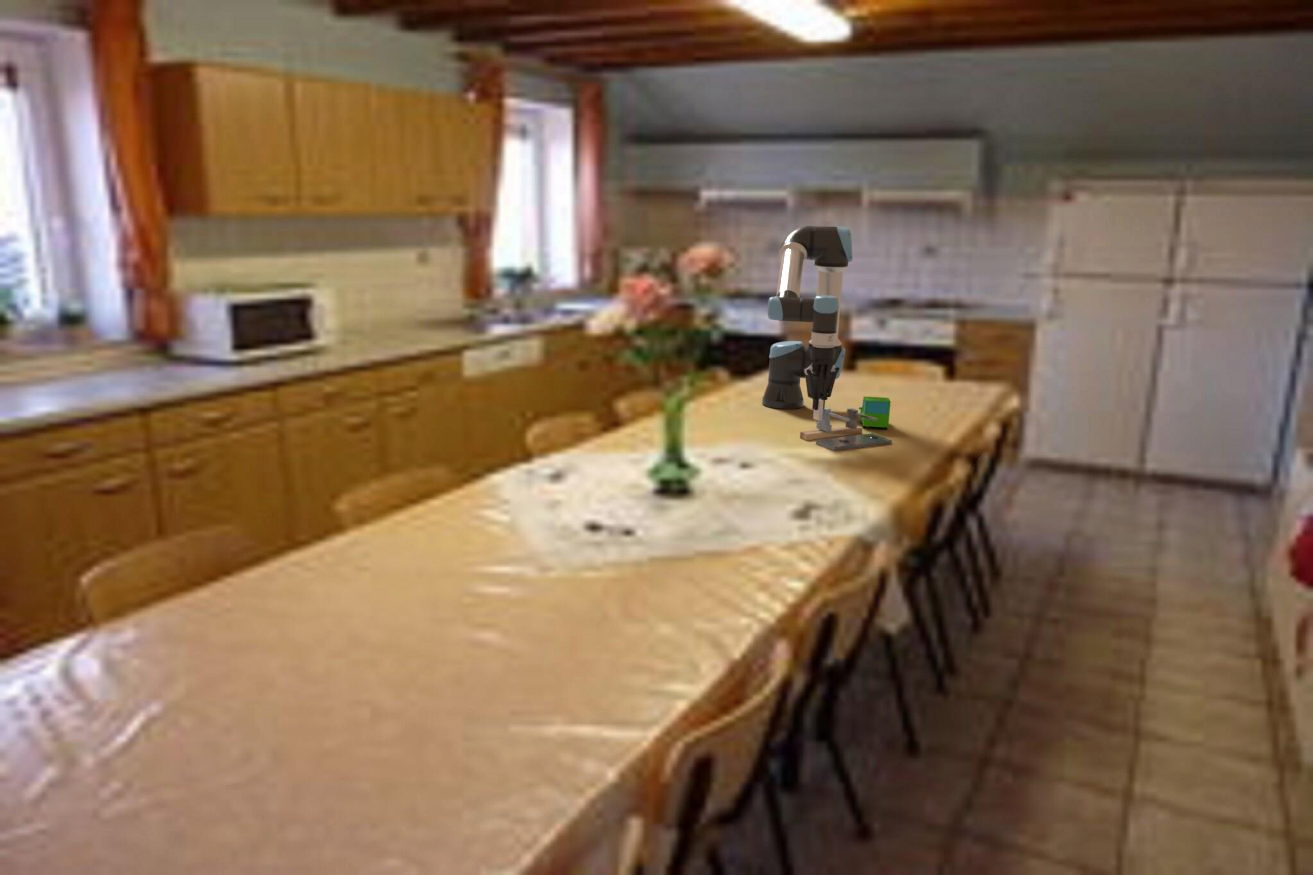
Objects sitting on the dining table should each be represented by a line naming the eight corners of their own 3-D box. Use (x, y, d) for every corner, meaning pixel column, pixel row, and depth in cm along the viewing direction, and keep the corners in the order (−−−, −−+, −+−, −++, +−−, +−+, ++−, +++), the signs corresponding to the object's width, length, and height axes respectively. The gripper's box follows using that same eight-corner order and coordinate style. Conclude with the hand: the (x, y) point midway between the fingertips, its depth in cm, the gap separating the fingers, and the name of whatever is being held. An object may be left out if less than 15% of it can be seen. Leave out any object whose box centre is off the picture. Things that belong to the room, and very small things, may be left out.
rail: (799, 438, 300) (801, 413, 298) (855, 431, 311) (857, 407, 309) (825, 447, 289) (827, 422, 287) (882, 440, 300) (885, 416, 298)
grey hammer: (816, 428, 304) (817, 407, 302) (821, 427, 305) (822, 406, 303) (844, 438, 292) (846, 416, 290) (849, 437, 293) (851, 415, 291)
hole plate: (815, 443, 293) (815, 440, 293) (872, 436, 304) (872, 433, 304) (834, 451, 286) (834, 447, 285) (891, 443, 297) (892, 439, 296)
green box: (885, 422, 326) (888, 393, 324) (891, 431, 313) (893, 401, 311) (856, 420, 327) (858, 392, 325) (859, 429, 314) (862, 400, 312)
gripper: (814, 348, 288) (808, 423, 294) (847, 346, 294) (841, 420, 300) (798, 345, 294) (793, 418, 300) (831, 343, 300) (826, 415, 306)
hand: (817, 419), depth 300 cm, fingers closed
